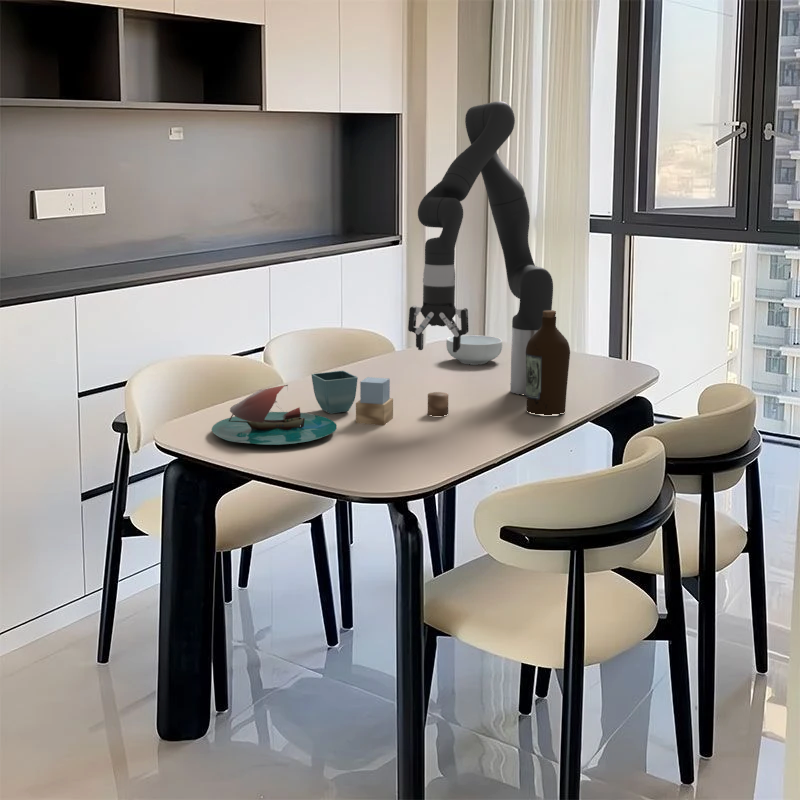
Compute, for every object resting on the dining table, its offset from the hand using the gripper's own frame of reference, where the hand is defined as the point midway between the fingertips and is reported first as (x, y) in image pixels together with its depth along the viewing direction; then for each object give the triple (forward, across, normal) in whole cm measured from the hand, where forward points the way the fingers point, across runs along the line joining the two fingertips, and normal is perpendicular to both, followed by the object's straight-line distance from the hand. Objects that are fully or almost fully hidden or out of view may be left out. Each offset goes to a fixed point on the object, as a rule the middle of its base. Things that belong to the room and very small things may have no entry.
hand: (437, 350), depth 263 cm
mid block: (+11, +12, +10) cm, 20 cm away
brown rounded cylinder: (+16, 0, 0) cm, 16 cm away
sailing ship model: (+16, +30, +28) cm, 45 cm away
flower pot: (+16, +25, +4) cm, 30 cm away
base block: (+16, +13, +10) cm, 23 cm away
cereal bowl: (+16, +5, -65) cm, 67 cm away
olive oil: (+16, -25, -10) cm, 31 cm away
